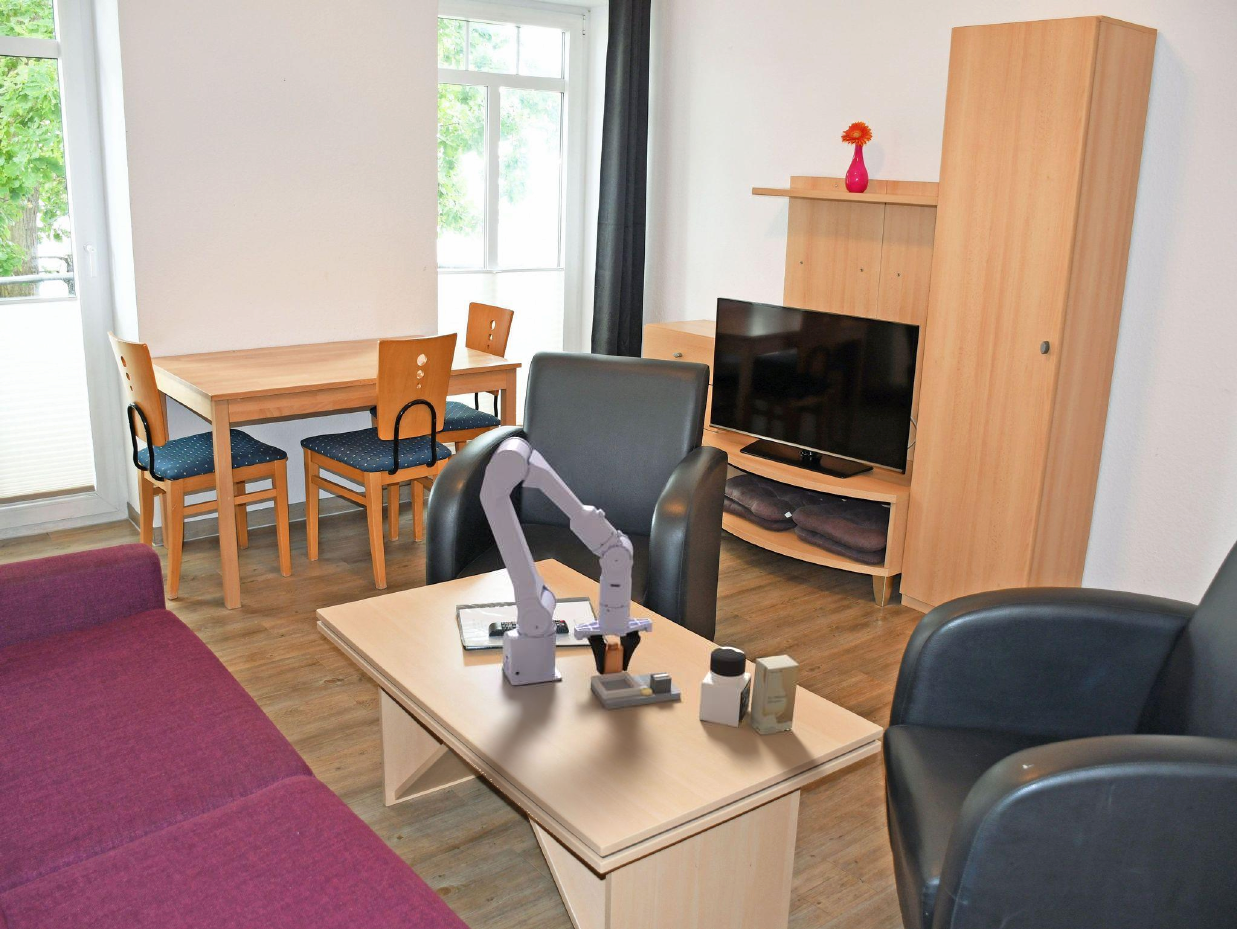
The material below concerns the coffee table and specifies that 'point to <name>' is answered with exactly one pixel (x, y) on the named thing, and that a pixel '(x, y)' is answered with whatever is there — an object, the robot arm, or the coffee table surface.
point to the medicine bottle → (725, 688)
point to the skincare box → (773, 694)
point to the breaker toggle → (660, 682)
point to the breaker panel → (628, 690)
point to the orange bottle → (613, 658)
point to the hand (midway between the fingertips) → (611, 670)
